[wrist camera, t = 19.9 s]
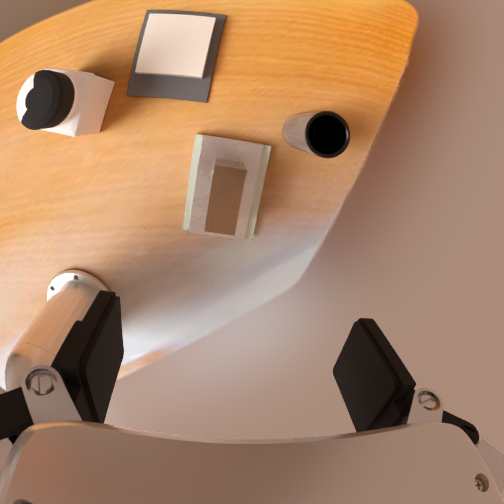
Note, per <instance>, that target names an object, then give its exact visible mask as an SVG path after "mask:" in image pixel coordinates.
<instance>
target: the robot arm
mask: <svg viewBox="0 0 504 504" xmlns="http://www.w3.org/2000/svg"><path fill="white" fill-rule="evenodd" d="M47 300H48V301H47V302H46V304H45V305H44V306H43V308H42V309H41V310H40V312H39V313H38V314H37V316H36V317H35V318H34V320H33V321H32V323H31V324H30V325H29V327H28V328H27V330H26V331H25V332H24V334H23V335H22V337H21V338H20V340H19V341H18V343H17V344H16V345H15V347H14V348H13V350H12V352H11V353H10V355H9V357H8V359H7V362H6V368H5V383H6V391H5V390H3V389H2V388H1V387H0V504H504V500H503V498H502V496H501V492H502V490H503V488H504V455H503V454H501V453H500V452H499V451H497V450H496V449H495V448H494V447H492V446H491V445H490V444H488V443H487V442H486V441H485V440H483V439H481V440H480V441H479V434H478V431H477V430H476V427H475V426H474V425H473V424H471V423H469V422H467V421H465V420H463V419H461V418H458V417H456V416H454V415H452V414H450V413H448V412H446V411H444V410H443V401H442V399H441V397H440V396H439V395H438V394H437V393H436V392H435V391H433V390H431V389H428V388H420V389H418V390H417V391H415V390H414V387H415V385H416V383H415V381H414V380H413V378H412V376H411V375H410V373H409V372H408V370H407V369H406V367H405V365H404V364H403V362H402V361H401V359H400V358H399V356H398V355H397V353H396V352H395V350H394V349H393V348H392V346H391V345H390V343H389V341H388V340H387V338H386V337H385V336H384V334H383V332H382V331H381V330H380V328H379V327H378V325H377V324H376V322H375V321H374V320H373V319H368V318H367V319H366V318H360V319H359V320H358V321H356V322H355V323H354V324H353V327H352V329H351V331H350V334H349V336H348V338H347V340H346V342H345V344H344V347H343V349H342V351H341V353H340V355H339V357H338V360H337V362H336V364H335V366H334V368H333V375H334V377H335V380H336V382H337V385H338V387H339V389H340V392H341V394H342V397H343V399H344V402H345V404H346V407H347V409H348V412H349V414H350V417H351V419H352V422H353V424H354V426H355V429H356V433H348V434H339V435H331V436H319V437H307V438H306V437H305V438H289V439H288V438H287V439H229V438H209V437H196V436H185V435H175V434H167V433H160V432H152V431H144V430H138V429H132V428H126V427H120V426H114V425H108V424H104V420H105V417H106V413H107V409H108V406H109V402H110V399H111V395H112V392H113V388H114V385H115V382H116V378H117V375H118V372H119V369H120V366H121V362H122V359H123V354H124V348H123V337H122V324H121V308H120V297H117V296H116V295H115V292H110V291H109V290H108V289H107V287H106V286H105V285H104V284H103V283H102V282H101V281H99V280H98V279H97V278H95V277H94V276H92V275H90V274H88V273H86V272H83V271H79V270H66V271H62V272H60V273H58V274H57V275H56V276H55V277H54V278H53V279H52V281H51V282H50V284H49V286H48V290H47Z"/></svg>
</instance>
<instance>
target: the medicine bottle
mask: <svg viewBox="0 0 504 504" xmlns="http://www.w3.org/2000/svg"><path fill="white" fill-rule="evenodd" d="M114 84H115V81H114V80H111V79H109V78H106V77H103V76H100V75H97V74H94V73H89V72H82V71H75V70H66V69H57V68H46V69H45V70H41V71H38V72H36V73H34V74H33V75H32V76H30V77H29V78H28V79H27V80H26V82H25V83H24V85H23V86H22V88H21V90H20V92H19V95H18V99H17V114H18V117H19V120H20V121H21V123H22V124H23V125H24V126H25V127H26V128H28V129H31V130H38V129H40V130H45V131H50V132H55V133H59V134H64V135H68V136H73V137H77V136H84V135H91V134H98V133H99V132H100V129H101V125H102V122H103V118H104V115H105V112H106V108H107V105H108V102H109V99H110V96H111V93H112V90H113V87H114Z"/></svg>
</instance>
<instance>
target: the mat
mask: <svg viewBox="0 0 504 504" xmlns="http://www.w3.org/2000/svg"><path fill="white" fill-rule="evenodd" d="M149 14H181V15H195V16H206V17H215V18H216V23H215V27H214V31H213V35H212V39H211V43H210V47H209V52H208V56H207V60H206V65H205V70H204V74H203V79H197V78H188V77H177V76H165V75H148V74H137V73H136V72H135V70H136V65H137V61H138V56H139V52H140V48H141V44H142V40H143V36H144V32H145V28H146V25H147V21H148V18H149ZM225 17H226V15H220V14H212V13H202V12H190V11H173V10H147V12H146V15H145V19H144V22H143V26H142V29H141V33H140V37H139V41H138V45H137V49H136V53H135V57H134V62H133V66H132V71H131V76H130V81H129V86H128V91H127V96H142V97H157V98H169V99H180V100H189V101H198V102H205V103H207V98H208V93H209V88H210V83H211V78H212V73H213V68H214V64H215V59H216V55H217V50H218V46H219V42H220V38H221V34H222V29H223V25H224V21H225Z"/></svg>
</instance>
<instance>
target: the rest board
mask: <svg viewBox="0 0 504 504" xmlns="http://www.w3.org/2000/svg"><path fill="white" fill-rule="evenodd" d="M205 136H210V135H205ZM212 137H217V136H212ZM219 138H223V137H219ZM202 139H203V135H202V134H196V136H195V142H194V148H193V155H192V161H191V168H190V174H189V181H188V189H187V196H186V204H185V212H184V220H183V229H182V230H189V225H190V218H191V210H192V203H193V196H194V189H195V182H196V175H197V169H198V163H199V156H200V150H201V145H202ZM225 139H230V138H225ZM232 140H236V139H232ZM238 141H242V140H238ZM243 142H248V141H243ZM249 143H253V142H249ZM254 144H259V143H254ZM260 145H263V149H262V154H261V159H260V164H259V169H258V174H257V179H256V184H255V189H254V194H253V199H252V204H251V209H250V214H249V219H248V224H247V229H246V234H245V238H248V239H253V234H254V229H255V224H256V219H257V214H258V210H259V205H260V200H261V195H262V190H263V185H264V180H265V175H266V170H267V165H268V160H269V156H270V151H271V146H269V145H264V144H260Z"/></svg>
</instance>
